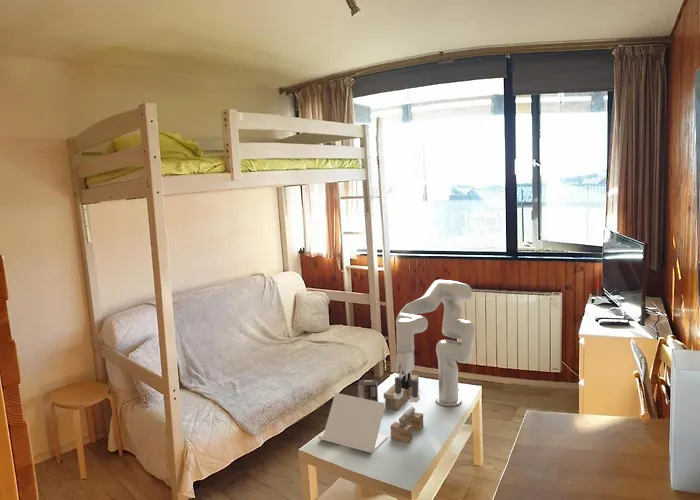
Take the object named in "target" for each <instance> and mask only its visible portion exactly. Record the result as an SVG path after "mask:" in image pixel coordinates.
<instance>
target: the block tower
mask: <svg viewBox="0 0 700 500" xmlns="http://www.w3.org/2000/svg"><path fill="white" fill-rule="evenodd" d="M403 376H405V375H403ZM411 379H412V380H418V390H419V385H420V384H419V375H417V374H415V375H414V374H411ZM401 392H403V397H402V398H401V399H395V398H394V393H395V383H394V384H393V385H391V387H389V389H387V390H386V391H385V392H384V393H383V399H384V404H385V406H384V408H387V409H392V410H396V411H397V410H401V408H403V407H404V405H405V404H406V403H407V402H408V400H409V399H410V397H411V396H412V386H411V387H409V389H402V388H401Z"/></svg>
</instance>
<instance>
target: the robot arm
mask: <svg viewBox="0 0 700 500" xmlns="http://www.w3.org/2000/svg"><path fill="white" fill-rule="evenodd" d="M472 295H473V290H472V287H471V286H470V285H469V284H467V283H463V282H459V281H456V280H446V279H437V280H434V281H433V282H432V283H431V284H430V286H429V287H428V289H426V291H425V292H424V294H423V295H422V296H421V297H419V298H417V299H414V300H413V301H410V302H409V303H407V304H405V305H404V306H403V307H402V308H401V310H400V311H399V313H398V314H397V316H396V319H395V328H396V331H395V332H396V333H395V334H396V356H395V357H396V358H395V374H397V375H398V377H399V378H401V388H402V389H409V387H411V385H409V381H408V379H411V375H412V372H413V370H415V334H420V333H421V334H422V333H424V332H425V331H426V330H427V328H428V326H429V322H428V319H427V318H426V317H425V316H423V315H420V314H425V313H426V314H427V313H430V312H434V311H436V310H437V309H438V307H439V306H440V305H441V303H442V304H443V316H442V324H441V325H442V326H441V332H442V335H443V336H445V337H447V338H451V339H441V340H439V341H437V343H436V347H435V352H436V356H437V363H438V395H437V396H436V397H435V401H436V403H437V404H438V405H440V406H442V407H456V405H457V406H460V404H461V403H462V398H461V396H459V392H460V389H459V367H458V364H457V362H458V363H463V364H467V363H469V362H470V361H471V360H472V355H473V347H474V340H475V325H474V324H473V322H472V321H470V320H467V319H462V306H461V304H460V302H463V303H466V302H468V301H470V300H471V298H472ZM452 339H457V340H459V339H460V340H461V341H456V340H452ZM403 375H405V376H403Z"/></svg>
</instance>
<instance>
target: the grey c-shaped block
mask: <svg viewBox="0 0 700 500" xmlns="http://www.w3.org/2000/svg"><path fill="white" fill-rule="evenodd" d="M408 381H409V385H411V386H412V396H411V397H410V398H409V399H410V401H409V402H411V403H415V404H417V403H418V402H419V401H420V400H421V397H420V396H421V395H419V389H418V380H412V379H408ZM394 384H395V393H394V398H395V399H401V398H402V397H403V392H401V378H399V376H396V377H394Z"/></svg>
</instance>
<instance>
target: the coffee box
mask: <svg viewBox="0 0 700 500" xmlns="http://www.w3.org/2000/svg"><path fill="white" fill-rule="evenodd" d="M357 389H358V392H357V393H358V398H363V399H368V400H372V401H377V402H379V392H378V391H379V389H378V379H359V380H358V384H357Z"/></svg>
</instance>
